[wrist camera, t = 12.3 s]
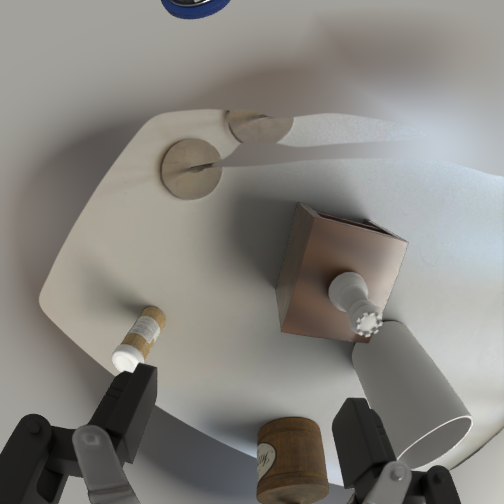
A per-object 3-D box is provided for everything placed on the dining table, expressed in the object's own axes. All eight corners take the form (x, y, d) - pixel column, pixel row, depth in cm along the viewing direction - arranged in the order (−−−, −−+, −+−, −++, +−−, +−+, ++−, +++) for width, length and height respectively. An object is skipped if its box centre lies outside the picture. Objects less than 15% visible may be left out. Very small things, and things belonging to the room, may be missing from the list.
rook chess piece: (323, 303, 31) (340, 344, 23) (332, 267, 30) (355, 301, 22) (357, 307, 31) (381, 346, 23) (368, 272, 30) (398, 305, 22)
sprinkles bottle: (155, 332, 47) (129, 381, 34) (137, 314, 46) (105, 360, 33) (171, 319, 46) (146, 369, 33) (152, 300, 45) (120, 346, 32)
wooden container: (252, 421, 54) (249, 505, 33) (319, 411, 52) (335, 495, 31) (262, 452, 58) (262, 523, 37) (320, 444, 57) (331, 515, 36)
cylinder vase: (364, 380, 50) (403, 478, 26) (339, 345, 47) (382, 458, 23) (415, 347, 47) (473, 434, 23) (397, 306, 44) (472, 401, 20)
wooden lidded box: (297, 201, 40) (314, 216, 28) (371, 221, 40) (408, 242, 29) (275, 289, 44) (280, 332, 32) (345, 302, 44) (368, 343, 33)
